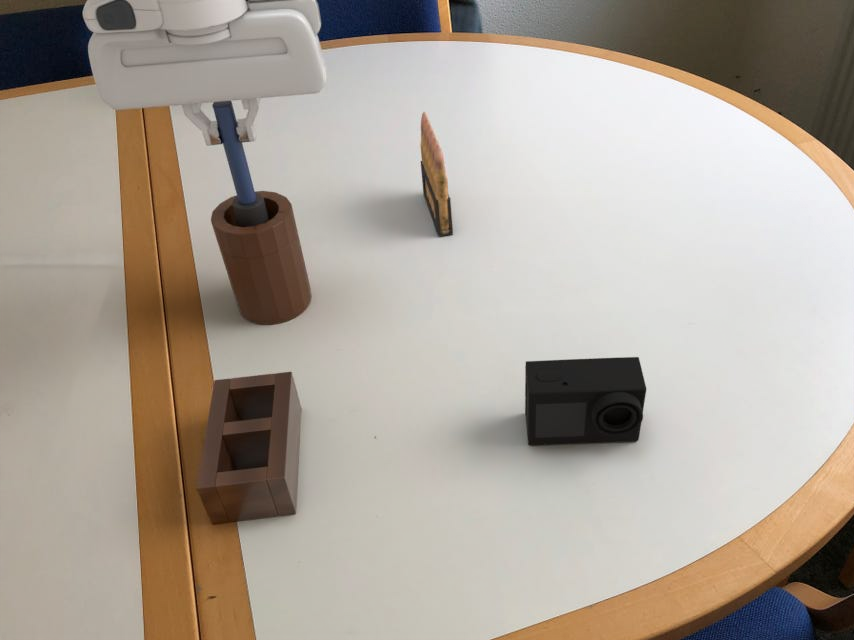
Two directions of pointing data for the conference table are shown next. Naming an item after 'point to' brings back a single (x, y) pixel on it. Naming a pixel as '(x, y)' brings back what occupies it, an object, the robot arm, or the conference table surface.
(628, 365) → the digital camera
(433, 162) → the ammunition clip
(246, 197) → the brush
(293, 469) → the rack
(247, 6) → the robot arm
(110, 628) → the conference table surface
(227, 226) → the cup
